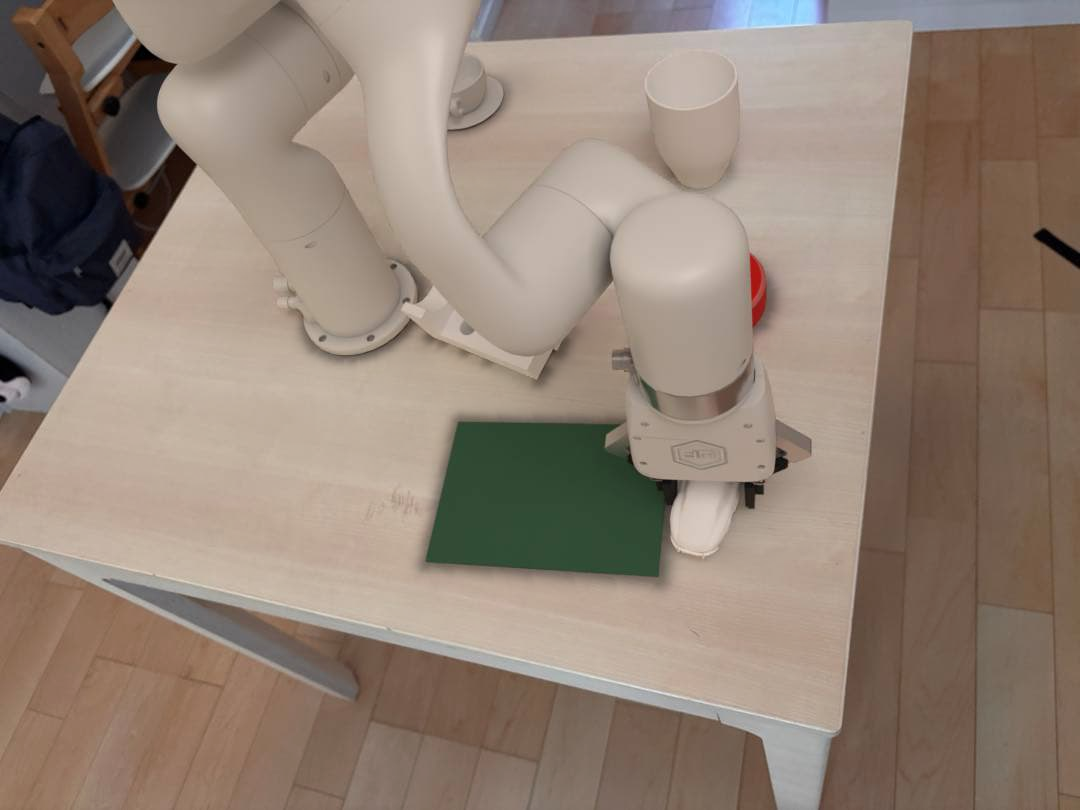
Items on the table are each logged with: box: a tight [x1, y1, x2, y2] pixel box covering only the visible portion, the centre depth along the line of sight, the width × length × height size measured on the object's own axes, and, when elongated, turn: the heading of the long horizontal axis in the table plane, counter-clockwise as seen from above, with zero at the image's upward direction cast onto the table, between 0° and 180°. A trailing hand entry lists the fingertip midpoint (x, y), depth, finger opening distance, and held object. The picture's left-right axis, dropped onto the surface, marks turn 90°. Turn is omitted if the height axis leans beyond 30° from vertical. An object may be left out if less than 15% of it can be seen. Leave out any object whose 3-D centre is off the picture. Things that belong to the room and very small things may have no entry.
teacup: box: [447, 52, 504, 130], centre depth 106 cm, size 10×10×5 cm
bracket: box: [401, 285, 563, 381], centre depth 83 cm, size 13×7×8 cm, turn 57°
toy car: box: [669, 480, 744, 560], centre depth 70 cm, size 5×12×4 cm, turn 158°
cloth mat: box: [425, 421, 666, 578], centre depth 75 cm, size 20×14×1 cm
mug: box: [643, 48, 741, 190], centre depth 88 cm, size 12×9×12 cm
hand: (711, 489), depth 70 cm, fingers closed on toy car, 5 cm apart
